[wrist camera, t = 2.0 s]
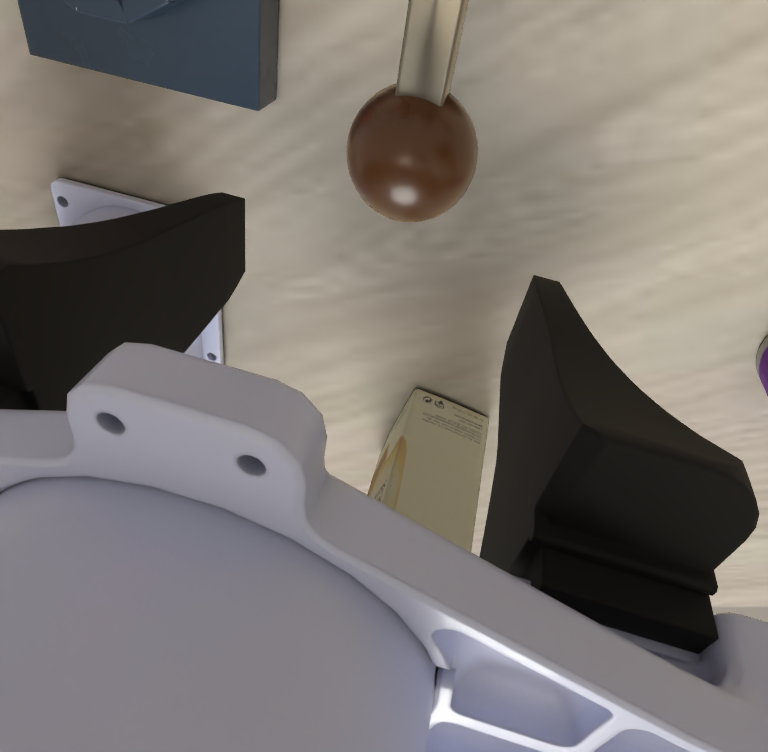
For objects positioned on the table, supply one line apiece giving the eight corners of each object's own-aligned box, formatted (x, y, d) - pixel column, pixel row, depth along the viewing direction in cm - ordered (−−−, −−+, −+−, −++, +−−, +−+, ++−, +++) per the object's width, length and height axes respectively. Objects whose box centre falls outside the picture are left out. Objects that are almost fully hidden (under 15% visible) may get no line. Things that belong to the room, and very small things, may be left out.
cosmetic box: (415, 383, 29) (350, 604, 20) (492, 416, 29) (464, 650, 20) (376, 457, 33) (308, 667, 24) (444, 485, 33) (402, 704, 24)
